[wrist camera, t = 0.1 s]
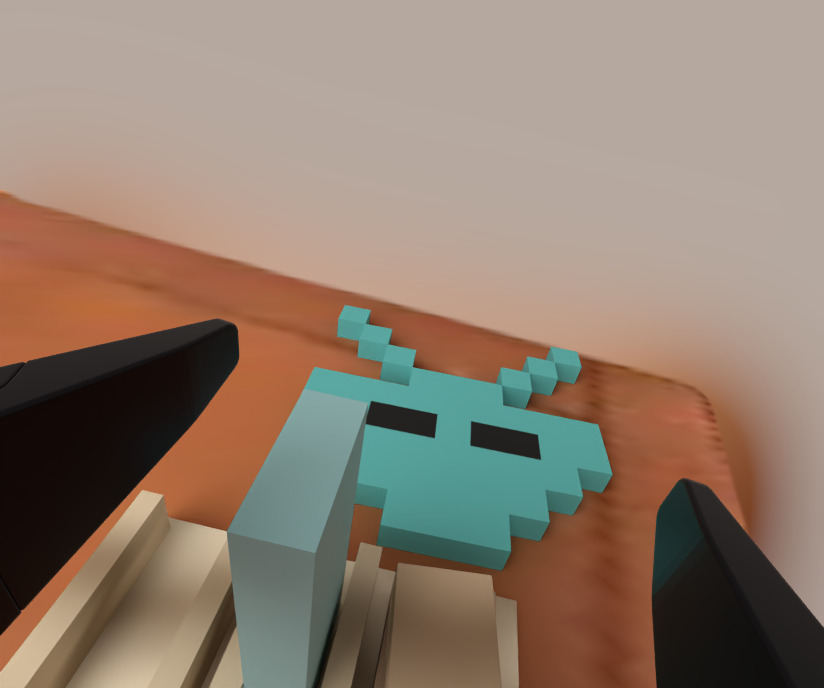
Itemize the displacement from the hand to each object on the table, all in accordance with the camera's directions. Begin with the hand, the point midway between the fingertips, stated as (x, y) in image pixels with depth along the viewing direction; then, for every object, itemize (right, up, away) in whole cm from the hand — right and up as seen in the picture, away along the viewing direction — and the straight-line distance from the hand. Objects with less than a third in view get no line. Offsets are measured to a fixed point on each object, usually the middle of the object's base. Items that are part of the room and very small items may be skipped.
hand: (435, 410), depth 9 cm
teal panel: (-5, -11, +10) cm, 16 cm away
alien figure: (+2, -5, +24) cm, 25 cm away
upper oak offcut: (0, -11, +8) cm, 14 cm away
